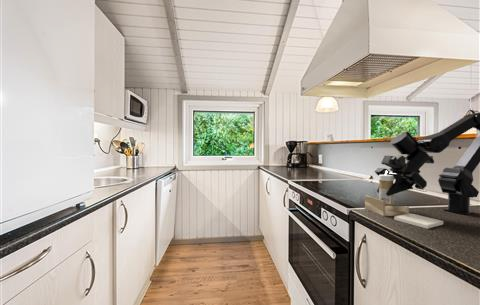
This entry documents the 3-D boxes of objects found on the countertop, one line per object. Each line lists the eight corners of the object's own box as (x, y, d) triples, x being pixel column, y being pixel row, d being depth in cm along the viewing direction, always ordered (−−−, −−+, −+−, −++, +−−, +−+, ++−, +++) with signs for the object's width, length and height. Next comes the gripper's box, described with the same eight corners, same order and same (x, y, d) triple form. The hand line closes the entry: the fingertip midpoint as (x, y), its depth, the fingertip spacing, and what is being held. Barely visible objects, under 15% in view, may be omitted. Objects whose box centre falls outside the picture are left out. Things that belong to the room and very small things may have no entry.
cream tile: (410, 216, 76) (410, 213, 76) (443, 224, 68) (443, 221, 68) (394, 219, 72) (394, 216, 72) (427, 228, 64) (427, 225, 64)
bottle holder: (388, 208, 87) (388, 195, 87) (409, 215, 77) (409, 200, 77) (364, 208, 86) (365, 195, 86) (383, 215, 76) (383, 201, 76)
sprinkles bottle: (395, 212, 81) (396, 175, 81) (389, 214, 78) (390, 176, 78) (381, 209, 85) (382, 174, 84) (375, 211, 82) (376, 174, 82)
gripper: (379, 148, 91) (353, 175, 90) (419, 147, 72) (385, 181, 72) (397, 167, 91) (371, 194, 91) (441, 172, 73) (408, 206, 72)
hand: (382, 193), depth 81 cm, fingers closed on sprinkles bottle, 4 cm apart
